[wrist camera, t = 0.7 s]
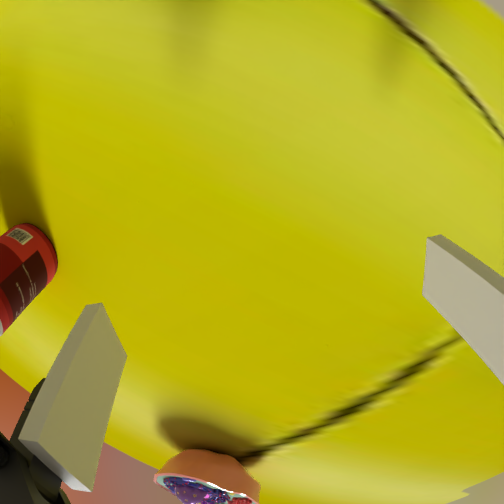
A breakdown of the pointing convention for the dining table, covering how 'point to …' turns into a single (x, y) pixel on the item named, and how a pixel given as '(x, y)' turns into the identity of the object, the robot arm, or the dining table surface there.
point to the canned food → (23, 269)
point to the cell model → (208, 479)
